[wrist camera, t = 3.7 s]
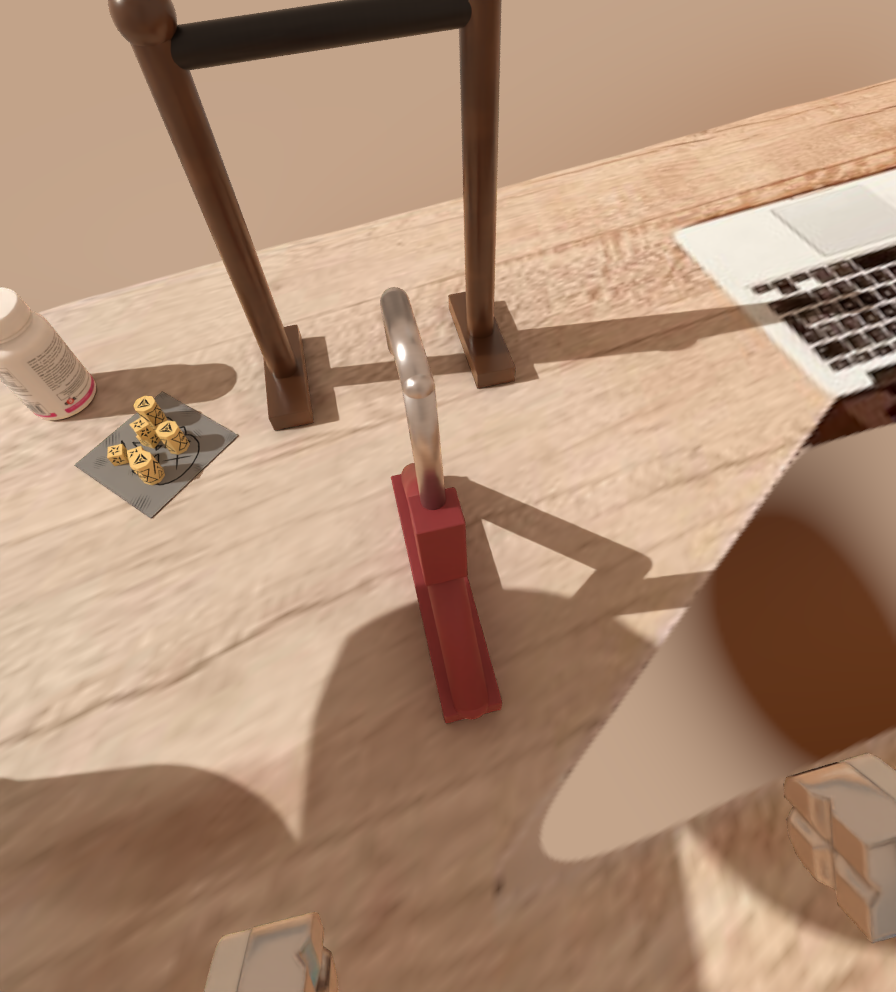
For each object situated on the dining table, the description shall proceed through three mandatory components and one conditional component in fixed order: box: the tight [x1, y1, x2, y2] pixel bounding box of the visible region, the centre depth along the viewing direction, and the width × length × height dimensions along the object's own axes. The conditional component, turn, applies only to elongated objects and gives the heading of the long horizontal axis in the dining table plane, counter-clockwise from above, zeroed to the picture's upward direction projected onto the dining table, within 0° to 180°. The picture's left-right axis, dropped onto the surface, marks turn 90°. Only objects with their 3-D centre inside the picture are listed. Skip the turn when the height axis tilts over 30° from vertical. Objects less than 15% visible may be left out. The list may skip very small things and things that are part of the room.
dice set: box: [106, 396, 190, 485], centre depth 40 cm, size 5×5×2 cm
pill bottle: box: [0, 288, 96, 420], centre depth 40 cm, size 5×5×8 cm
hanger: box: [380, 287, 502, 723], centre depth 26 cm, size 16×3×19 cm, turn 13°
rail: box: [108, 0, 515, 431], centre depth 34 cm, size 18×9×24 cm, turn 103°
